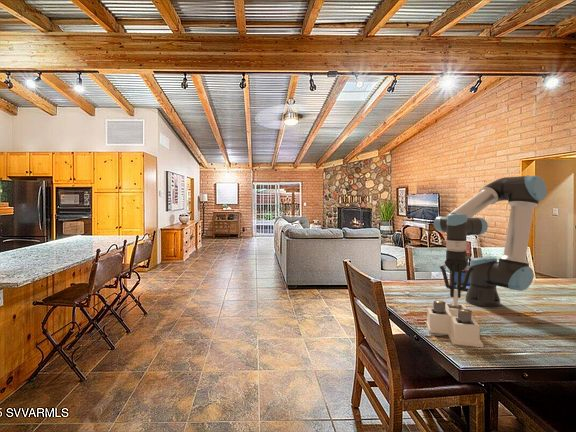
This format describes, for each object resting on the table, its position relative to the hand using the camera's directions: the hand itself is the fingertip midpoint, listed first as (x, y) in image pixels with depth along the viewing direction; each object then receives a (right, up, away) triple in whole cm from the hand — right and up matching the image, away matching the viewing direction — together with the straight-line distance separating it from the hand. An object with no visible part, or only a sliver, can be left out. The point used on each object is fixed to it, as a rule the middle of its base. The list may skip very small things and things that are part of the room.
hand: (455, 304), depth 135 cm
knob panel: (-6, -8, -7) cm, 12 cm away
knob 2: (-5, -4, -16) cm, 17 cm away
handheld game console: (+34, -6, +54) cm, 64 cm away
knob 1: (0, -6, 0) cm, 6 cm away
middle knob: (-9, -3, -6) cm, 12 cm away
